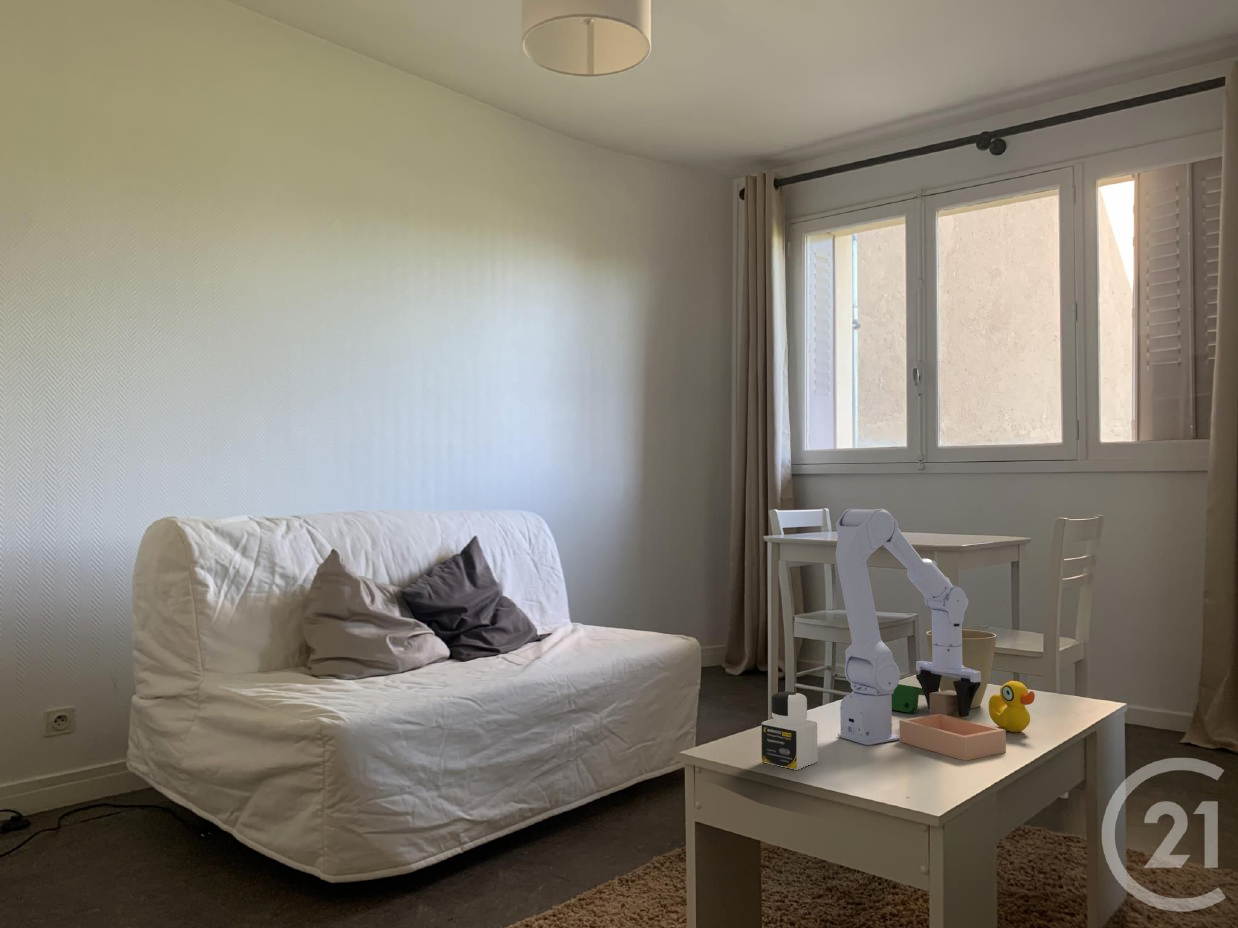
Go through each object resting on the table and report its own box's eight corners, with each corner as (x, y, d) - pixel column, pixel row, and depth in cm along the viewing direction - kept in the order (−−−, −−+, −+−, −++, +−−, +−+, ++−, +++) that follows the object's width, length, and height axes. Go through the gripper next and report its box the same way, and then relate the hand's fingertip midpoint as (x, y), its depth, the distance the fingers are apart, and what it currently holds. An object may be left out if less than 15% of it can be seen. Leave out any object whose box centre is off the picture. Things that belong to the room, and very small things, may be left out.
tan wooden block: (946, 732, 181) (945, 696, 181) (929, 727, 184) (929, 692, 185) (966, 728, 184) (965, 693, 184) (950, 724, 187) (949, 689, 188)
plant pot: (946, 694, 216) (945, 627, 217) (1009, 705, 205) (1007, 633, 206) (914, 704, 206) (913, 633, 207) (978, 715, 195) (977, 640, 196)
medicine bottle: (760, 763, 159) (760, 693, 160) (783, 754, 164) (782, 687, 165) (796, 771, 154) (795, 699, 155) (818, 762, 160) (817, 693, 160)
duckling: (1045, 737, 177) (1044, 684, 178) (1023, 739, 175) (1022, 686, 176) (1003, 723, 188) (1002, 674, 188) (981, 725, 186) (980, 676, 187)
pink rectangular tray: (965, 760, 161) (964, 737, 161) (899, 741, 174) (899, 720, 174) (1005, 752, 166) (1005, 729, 167) (939, 733, 179) (939, 713, 179)
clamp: (915, 730, 200) (934, 693, 200) (902, 727, 196) (921, 690, 196) (872, 700, 209) (890, 665, 208) (859, 697, 205) (877, 662, 204)
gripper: (990, 647, 181) (992, 717, 180) (932, 638, 193) (933, 703, 193) (966, 650, 177) (968, 721, 177) (908, 640, 190) (909, 707, 189)
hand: (948, 712), depth 184 cm, fingers open, 7 cm apart
